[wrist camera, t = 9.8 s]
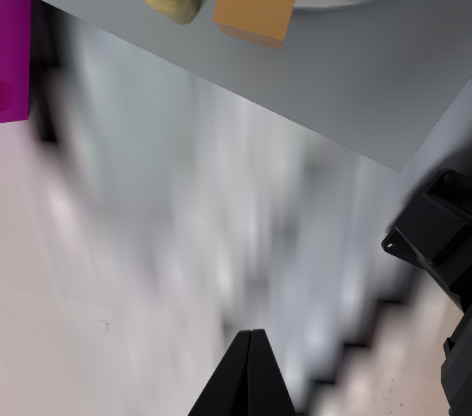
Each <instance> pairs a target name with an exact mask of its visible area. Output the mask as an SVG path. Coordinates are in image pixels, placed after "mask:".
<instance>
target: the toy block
mask: <svg viewBox="0 0 472 416" xmlns="http://www.w3.org/2000/svg"><path fill="white" fill-rule="evenodd" d="M30 23H31V0H0V123H6V122H13V121H21V120H28V99H29V61H30Z"/></svg>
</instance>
